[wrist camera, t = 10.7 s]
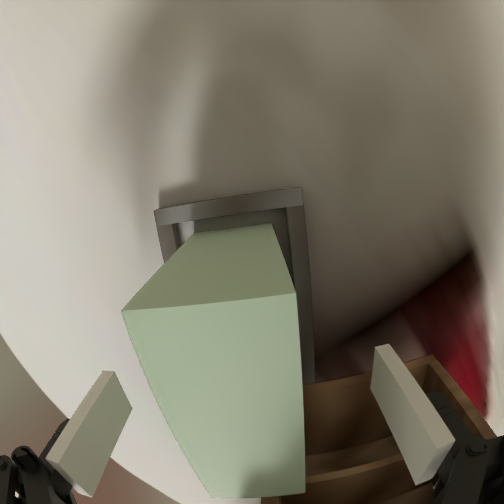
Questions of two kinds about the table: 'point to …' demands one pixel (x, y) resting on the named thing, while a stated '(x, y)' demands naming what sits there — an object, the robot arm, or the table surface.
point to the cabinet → (334, 384)
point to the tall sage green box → (227, 360)
